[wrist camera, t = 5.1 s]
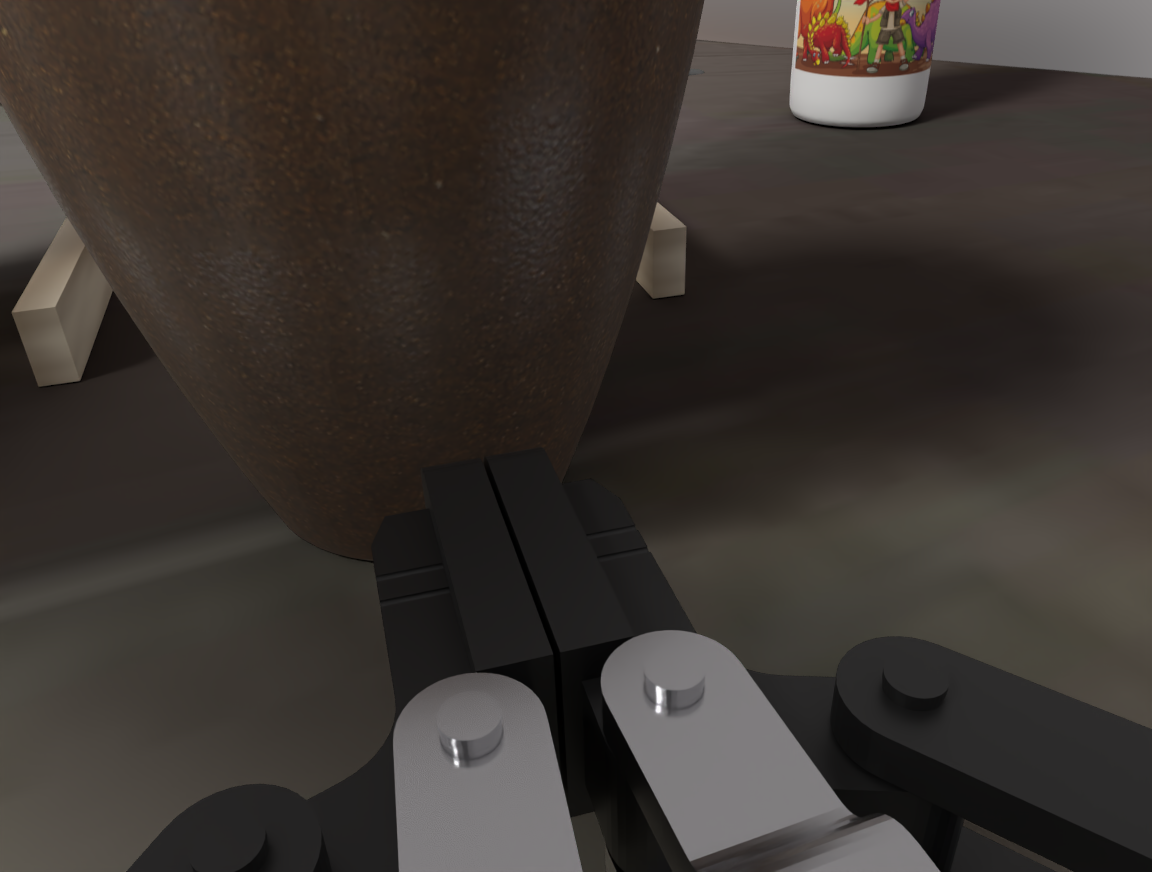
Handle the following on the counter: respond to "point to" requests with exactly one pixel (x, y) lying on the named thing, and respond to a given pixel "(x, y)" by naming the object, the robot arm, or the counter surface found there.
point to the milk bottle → (862, 61)
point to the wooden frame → (81, 292)
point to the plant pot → (361, 216)
